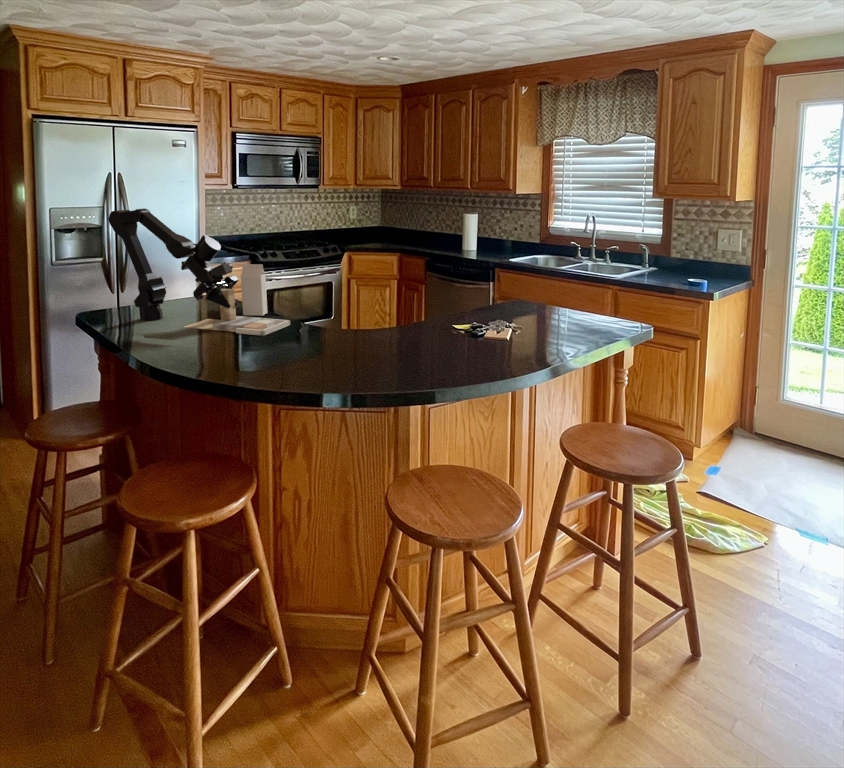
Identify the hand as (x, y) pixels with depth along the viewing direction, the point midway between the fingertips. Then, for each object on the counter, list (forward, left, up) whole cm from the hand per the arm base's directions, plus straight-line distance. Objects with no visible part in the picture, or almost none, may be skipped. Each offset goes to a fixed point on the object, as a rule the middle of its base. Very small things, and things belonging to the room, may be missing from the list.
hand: (233, 306), depth 247 cm
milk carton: (+2, +22, -8) cm, 23 cm away
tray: (+10, -4, -8) cm, 14 cm away
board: (-5, +2, -8) cm, 9 cm away
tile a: (+10, 0, -7) cm, 12 cm away
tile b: (+8, -6, -7) cm, 12 cm away
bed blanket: (+1, -1, -7) cm, 7 cm away
